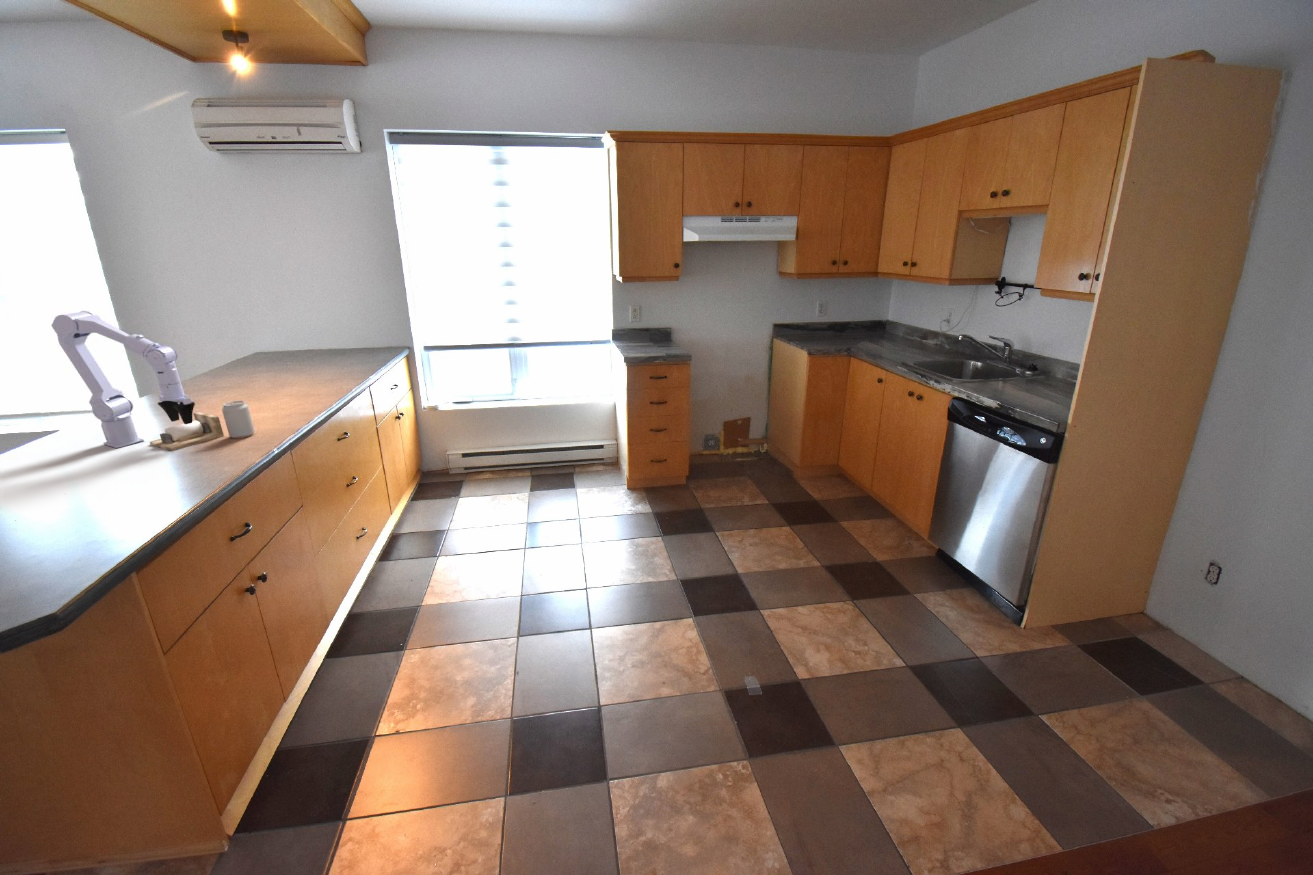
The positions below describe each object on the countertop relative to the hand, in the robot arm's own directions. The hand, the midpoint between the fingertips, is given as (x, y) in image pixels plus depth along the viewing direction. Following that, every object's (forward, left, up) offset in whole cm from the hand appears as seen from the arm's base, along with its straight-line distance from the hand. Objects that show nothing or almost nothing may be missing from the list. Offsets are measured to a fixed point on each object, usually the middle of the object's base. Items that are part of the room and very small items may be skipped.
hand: (181, 422), depth 202 cm
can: (+13, +11, -7) cm, 18 cm away
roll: (0, 0, -6) cm, 6 cm away
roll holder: (0, 0, -7) cm, 7 cm away
